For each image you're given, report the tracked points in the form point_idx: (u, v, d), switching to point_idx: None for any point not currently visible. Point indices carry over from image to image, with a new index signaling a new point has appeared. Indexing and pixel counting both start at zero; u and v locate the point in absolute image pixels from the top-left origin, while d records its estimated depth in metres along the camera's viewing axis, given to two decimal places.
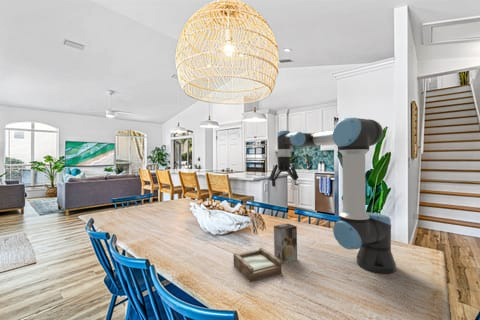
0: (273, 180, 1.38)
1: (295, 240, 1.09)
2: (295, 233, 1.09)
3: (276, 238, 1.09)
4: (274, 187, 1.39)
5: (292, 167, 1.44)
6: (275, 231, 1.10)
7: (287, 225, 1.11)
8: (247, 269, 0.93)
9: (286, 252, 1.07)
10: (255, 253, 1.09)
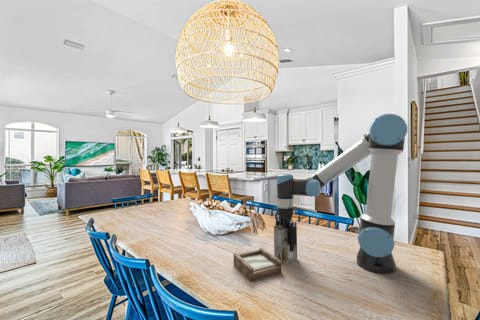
0: None
1: None
2: None
3: (276, 238, 1.09)
4: None
5: None
6: (275, 231, 1.10)
7: None
8: (247, 269, 0.93)
9: (286, 252, 1.07)
10: (255, 253, 1.09)
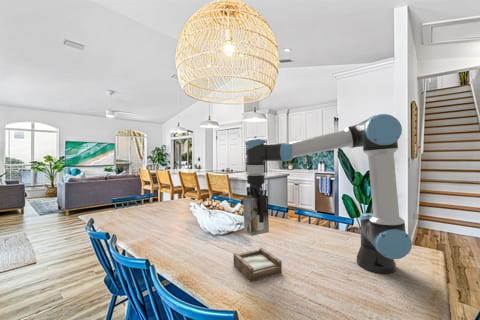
0: None
1: None
2: (266, 203, 1.00)
3: (246, 208, 1.00)
4: None
5: (260, 194, 0.96)
6: (244, 201, 1.01)
7: None
8: (247, 269, 0.93)
9: (255, 223, 0.98)
10: (255, 253, 1.09)
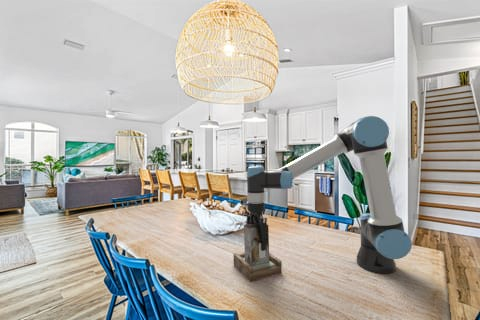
0: None
1: None
2: None
3: (246, 238, 1.00)
4: None
5: None
6: (245, 230, 1.01)
7: None
8: (247, 269, 0.93)
9: (256, 253, 0.98)
10: None
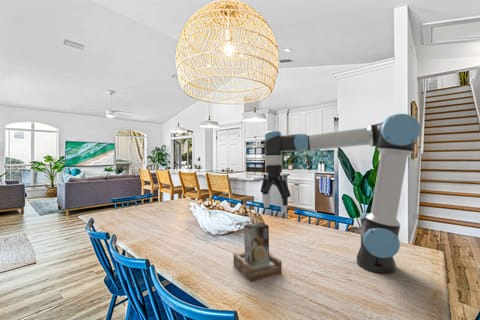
0: (263, 193, 1.16)
1: (267, 240, 1.00)
2: (267, 232, 1.00)
3: (246, 238, 1.00)
4: None
5: (280, 180, 1.03)
6: (245, 230, 1.01)
7: (259, 224, 1.02)
8: (247, 269, 0.93)
9: (256, 254, 0.98)
10: None
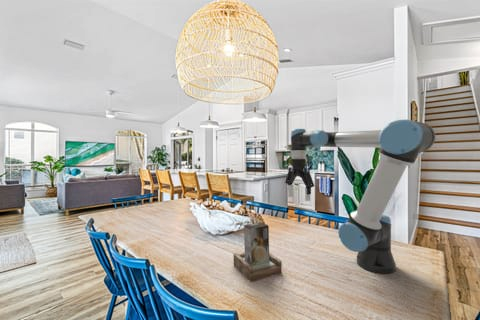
0: None
1: (267, 240, 1.00)
2: (267, 232, 1.00)
3: (246, 238, 1.00)
4: None
5: None
6: (245, 230, 1.01)
7: (259, 224, 1.02)
8: (247, 269, 0.93)
9: (256, 254, 0.98)
10: None
